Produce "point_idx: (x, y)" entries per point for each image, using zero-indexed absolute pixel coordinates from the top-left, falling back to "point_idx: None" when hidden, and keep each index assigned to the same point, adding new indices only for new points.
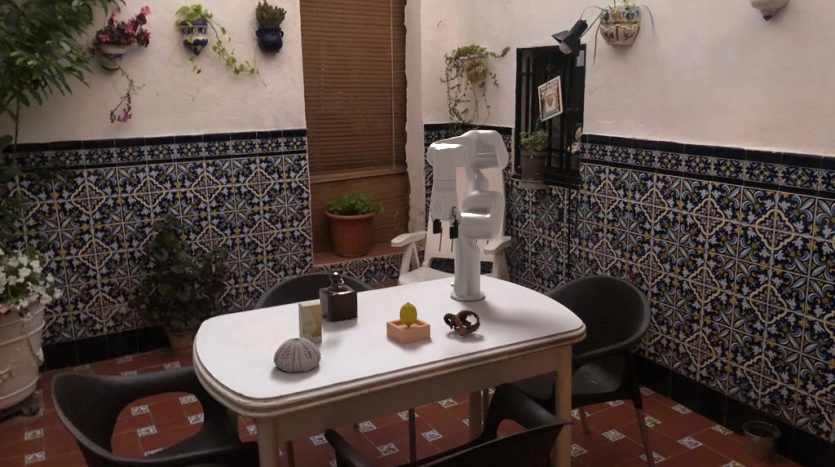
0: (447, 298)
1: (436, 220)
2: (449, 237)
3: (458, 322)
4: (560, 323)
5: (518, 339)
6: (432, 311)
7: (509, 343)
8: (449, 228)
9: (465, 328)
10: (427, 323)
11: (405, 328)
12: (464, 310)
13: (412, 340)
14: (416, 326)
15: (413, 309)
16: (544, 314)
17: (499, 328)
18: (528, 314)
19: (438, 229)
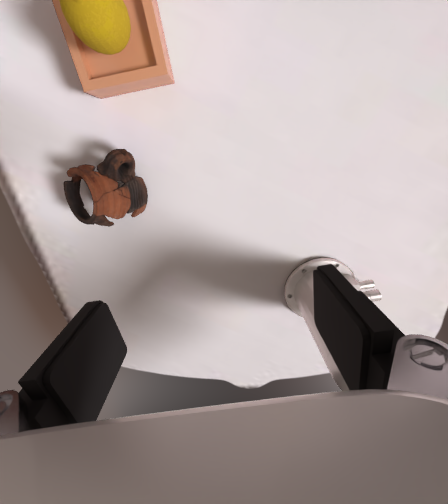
0: (331, 249)
1: (385, 385)
2: (95, 304)
3: (73, 167)
4: None
5: (54, 261)
6: (269, 182)
7: (36, 239)
8: (44, 365)
9: (72, 179)
10: (94, 88)
11: None
12: (94, 200)
13: None
14: (111, 60)
15: (65, 17)
16: (164, 347)
17: (118, 258)
18: (173, 329)
19: (326, 322)
